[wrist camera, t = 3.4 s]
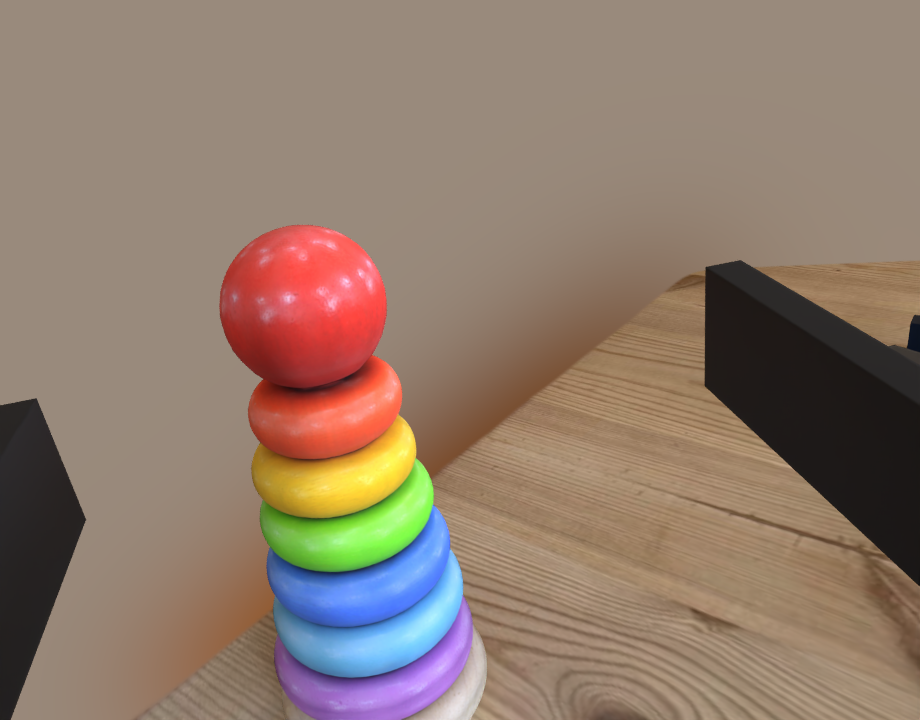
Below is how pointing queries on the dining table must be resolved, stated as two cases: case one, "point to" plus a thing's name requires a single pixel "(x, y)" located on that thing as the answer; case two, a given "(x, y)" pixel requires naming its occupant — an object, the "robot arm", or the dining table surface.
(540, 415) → the dining table surface
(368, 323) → the stacking toy
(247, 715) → the dining table surface
